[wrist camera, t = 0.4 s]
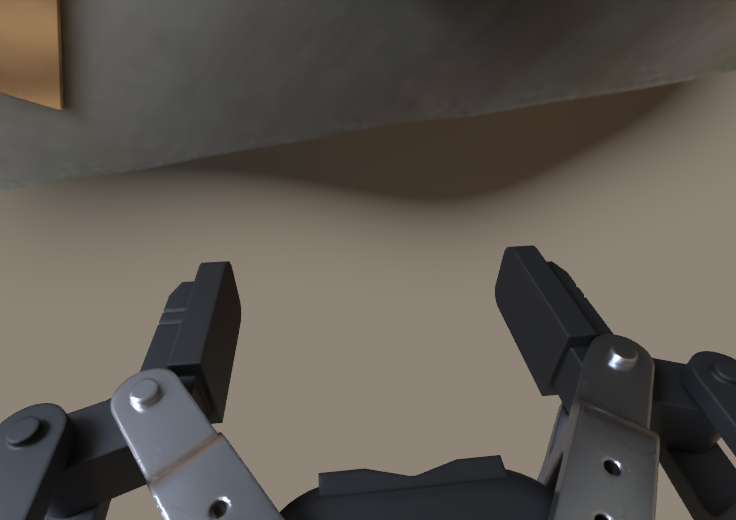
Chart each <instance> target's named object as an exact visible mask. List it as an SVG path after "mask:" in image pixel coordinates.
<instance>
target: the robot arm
mask: <svg viewBox="0 0 736 520" xmlns="http://www.w3.org/2000/svg"><path fill="white" fill-rule="evenodd" d="M495 297H496V302H497V306H498V308H499V310H500V312H501V314H502V316H503V318H504V320H505V322H506V324H507V326H508V328H509V330H510V332H511V334H512V336H513V338H514V340H515V342H516V344H517V346H518V348H519V350H520V352H521V354H522V356H523V358H524V360H525V362H526V364H527V366H528V368H529V370H530V372H531V374H532V376H533V378H534V380H535V382H536V384H537V387H538V389H539V391H540V392H541V394H542V396H548V395H559V397H560V399H561V401H562V403H561V405H560V407H559V410H558V413H557V417H556V421H555V424H554V428H553V431H552V435H551V439H550V442H549V445H548V449H547V453H546V456H545V460H544V463H543V466H542V469H541V472H540V474H539V476H538V479H537V481H536V480H535V479H533V478H530V477H528V476H526V475H523V474H521V473H517V472H514V471H511V470H506V469H505V468H504V465H503V462H502V459H501V456H500V455H496V456H487V457H476V458H467V459H457V460H454V461H452V462H449V463H447V464H444V465H442V466H439V467H437V468H434V469H432V470H429V471H427V472H424V473H422V474H419V475H416V476H406V475H400V474H394V473H388V472H381V471H375V470H370V469H356V470H348V471H347V470H346V471H337V472H326V473H319V487H318V488H315V489H313V490H310V491H308V492H306V493H305V494H303V495H301V496H299V497H298V498H296V499H295V500H293V501H292V502H291V503H289V504H288V505H287V506H286V507H285V508H284V509H283V510H282V511H280V512H279V511H278V510H277V508H276V507H275V506H274V504H273V503H272V501H271V500H270V499H269V497H268V496H267V494H266V493H265V492H264V490H263V489H262V488H261V486H260V485H259V483H258V482H257V480H256V479H255V478H254V476H253V475H252V473H251V472H250V471H249V469H248V468H247V466H246V465H245V464H244V462H243V461H242V460H241V458H240V457H239V455H238V454H237V452H236V451H235V450H234V448H233V447H232V445H231V444H230V443H229V441H228V440H227V439H226V437H225V436H224V435H223V434H222V433H221V432H219V433H217V432H216V430H215V429H214V428H213V426H212V425H211V424H213V423H222V422H223V416H224V411H225V405H226V400H227V395H228V388H229V383H230V378H231V372H232V367H233V361H234V356H235V350H236V345H237V339H238V334H239V328H240V322H241V305H240V300H239V295H238V291H237V287H236V282H235V278H234V274H233V270H232V266H231V264H230V262H229V261H228V262H211V263H210V262H209V263H201V264H200V266H199V269H198V272H197V275H196V278H195V281H193V282H182V283H181V284H180V285H179V286H178V287H177V288H176V289H175V290H174V291H173V292H172V294H171V295H170V296H169V298H168V301H167V303H166V306H165V309H164V313H163V314H162V316H161V319H160V322H159V323H160V324H159V325H158V327H157V329H156V332H155V334H154V337H153V340H152V342H151V345H150V347H149V350H148V352H147V355H146V357H145V360H144V363H143V365H142V368H141V370H140V372H139V373H137V374H135V375H133V376H131V377H130V378H128V379H127V380H126V381H124V382H123V383H122V384H121V385H120V386H119V387H118V389H117V390H116V391H115V393H114V395H113V397H112V398H110V399H108V400H106V401H103V402H101V403H98V404H95V405H92V406H89V407H86V408H83V409H80V410H77V411H74V412H71V413H68V414H66V413H65V411H64V410H63V409H62V408H61V407H60V406H58V405H55V404H51V403H43V404H36V405H33V406H29V407H27V408H24V409H22V410H20V411H18V412H16V413H14V414H13V415H11V416H10V417H8V418H7V419H6V420H4V421H3V422H2V423H1V424H0V520H105V519H106V515H107V512H108V508H109V505H110V501H111V499H112V498H114V497H117V496H119V495H122V494H124V493H126V492H129V491H131V490H134V489H136V488H139V487H141V486H143V485H146V484H147V486H148V489H149V491H150V493H151V495H152V497H153V499H154V501H155V503H156V504H157V507H158V509H159V510H160V512H161V514H162V516H163V518H164V520H655V514H656V499H657V483H658V467H659V462H660V464H661V466H662V467H663V469H664V470H665V472H666V474H667V476H668V477H669V479H670V480H671V482H672V484H673V486H674V487H675V489H676V491H677V493H678V494H679V496H680V498H681V499H682V501H683V503H684V504H685V506H686V508H687V509H688V511H689V513H690V514H691V516H692V518H693V519H694V520H736V468H735V467H734V466H733V464H732V463H731V462H730V460H729V459H728V457H727V456H726V455H725V453H724V452H723V451H722V449H721V448H720V447H719V445H718V444H717V441H718V440H719V439H720V438H721V437H722V439H723V440H724V441H725V443H726V444H727V446H728V447H729V448H730V449H731V451H732V452H733V454H734V455H735V456H736V360H735V359H733V358H731V357H729V356H726V355H723V354H720V353H716V352H709V351H703V352H698V353H696V354H694V356H692V358H691V359H690V360H689V362H688V363H687V364H682V363H677V362H671V361H665V360H660V359H655V358H652V357H651V356H650V354H649V353H648V352H647V351H646V350H645V349H644V348H643V347H642V346H640V345H639V344H637V343H636V342H634V341H632V340H630V339H628V338H626V337H623V336H619V335H614V334H613V333H612V332H611V330H610V329H609V328H608V327H607V325H606V324H605V322H604V321H603V320H602V318H601V317H600V316H599V314H598V313H597V312H596V310H595V309H594V308H593V306H592V305H591V304H590V302H589V301H588V300H587V298H584V294H583V293H582V292H581V290H580V289H579V288H578V287H576V284H575V282H574V281H573V280H572V278H571V277H570V276H569V274H568V273H567V272H566V271H565V270H563V269H562V268H560V267H559V266H557V265H556V264H555V263H553V262H546V261H545V259H544V258H543V256H542V255H541V254H540V252H539V251H538V249H537V248H536V247H535V246H517V247H507V248H506V250H505V252H504V255H503V259H502V263H501V266H500V270H499V274H498V278H497V282H496V286H495Z"/></svg>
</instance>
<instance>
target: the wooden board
mask: <svg viewBox="0 0 736 520" xmlns="http://www.w3.org/2000/svg"><path fill="white" fill-rule="evenodd" d="M0 93H3V94H7V95H10V96H14V97H17V98H20V99H24V100H27V101H30V102H34V103H37V104H41V105H44V106H47V107H51V108H54V109H57V110H62V109H63V108H64V104H63V73H62V42H61V11H60V0H0Z"/></svg>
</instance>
